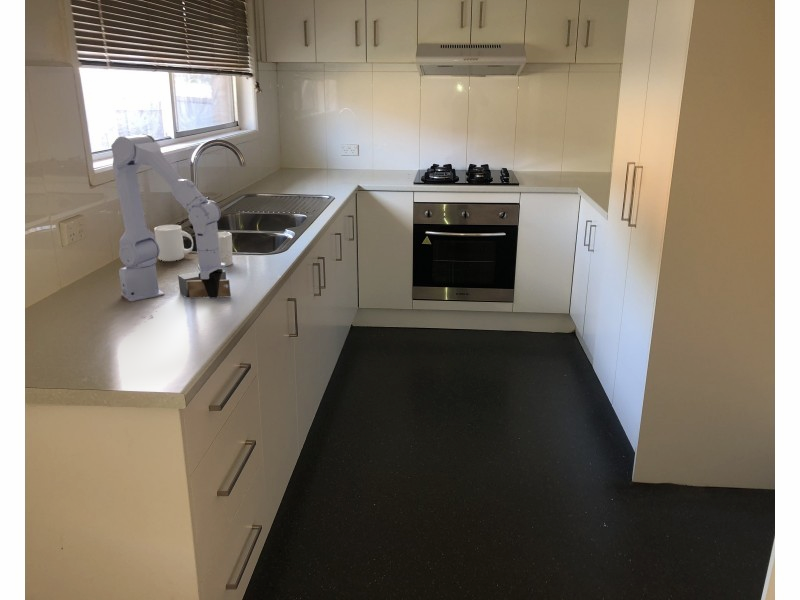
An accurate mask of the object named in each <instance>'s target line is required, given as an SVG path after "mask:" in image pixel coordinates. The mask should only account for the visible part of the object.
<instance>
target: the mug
mask: <svg viewBox="0 0 800 600" xmlns="http://www.w3.org/2000/svg"><path fill="white" fill-rule="evenodd" d="M153 231H154V236H155V240H156V242H157V243H158V245H159V248H160V253H159V256H158V257H157V258H158V260H160V261H161V260H162V261H161V262H176V260H177V261H180V260H182V259H184V257H185V255H187V254H189V253H191V252H192V251H193V249H194V239H193V237H192V235H191V234H190V233H188V232H186V231H184V230H182V225H178V224H164V225H159V226H156V227H154V230H153ZM183 237H187V238H188V239H189V240H190V241H191V247H190V248H185V247H184V246H185V245H184V239H183Z"/></svg>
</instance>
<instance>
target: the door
mask: <svg viewBox="0 0 800 600" xmlns="http://www.w3.org/2000/svg"><path fill="white" fill-rule="evenodd" d="M230 285H231V284H230V279H226V280H220V282H219V291H218V296H217V298H227V297H229V298H230V297H231V296H232V295H231V294H232V293H231V286H230ZM185 286H186V294H187V297H186V299H187V298H189V299H193V298H209V297H208V294H207V291H206V288H205V286H204V284H203V282H202V281H201V280H189V281H188V280H187V281H185Z"/></svg>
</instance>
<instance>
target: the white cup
mask: <svg viewBox="0 0 800 600" xmlns="http://www.w3.org/2000/svg"><path fill="white" fill-rule="evenodd" d="M218 238H219V248H220V258H221V263H226V266H225V267H228V266H229V267H230V266H232V265H233V263H234V262H233V236H232V233H231V232H228V231H218Z"/></svg>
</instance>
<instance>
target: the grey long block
mask: <svg viewBox="0 0 800 600" xmlns="http://www.w3.org/2000/svg"><path fill="white" fill-rule="evenodd" d="M219 269H221V268H219ZM222 270H223V272H222V275H221V278H220V280H227V273H226V270H225V269H222ZM199 273H200V270H198V271H193V272H188V273H182V274H178V275H177V278H178V279H177V280H178V286H179V288H178V289H179V294H181V295H182V296H183V297H185V298H187V294H186V286H185V281H187V280H188V281H189V280H201V279H200V278H199Z"/></svg>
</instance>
